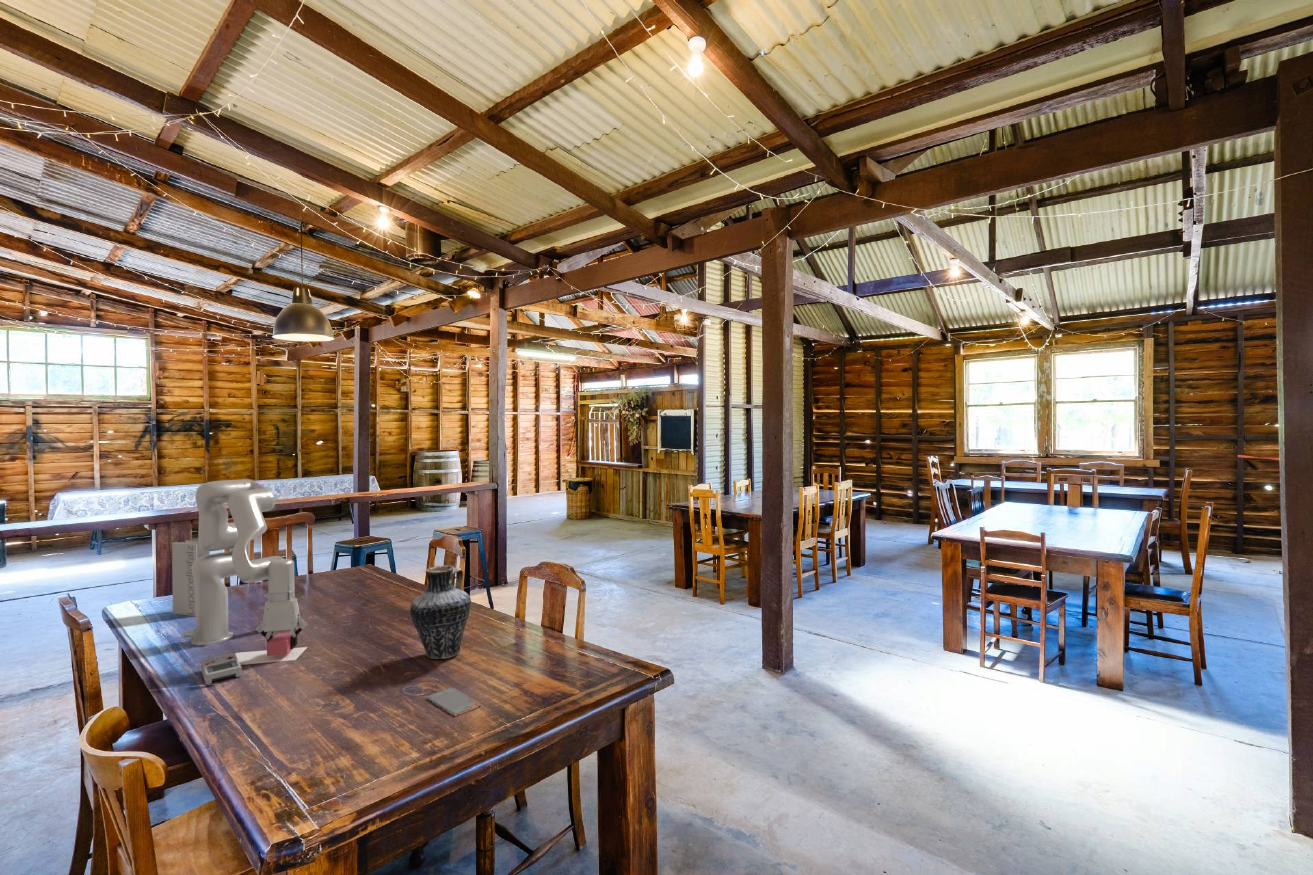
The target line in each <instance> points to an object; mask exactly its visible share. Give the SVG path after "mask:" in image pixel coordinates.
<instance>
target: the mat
mask: <svg viewBox="0 0 1313 875" xmlns="http://www.w3.org/2000/svg"><path fill="white" fill-rule="evenodd" d="M307 648H308V646H305V647H294V648H293V649H292V650H291V651H290V652H289V653H288V654H284V655H273V656H267V649H266V650H256V651H243V652H241V651H240V652H236V653H235V655H236V657H237V659H238V661H239V663H240V665H241V666H242V665H253V664H255V665H256V664H265V663H276V662H287V661H296V660H297V659H298V658H299V657H301V655H302V654H303V653H304V652H305V650H307Z"/></svg>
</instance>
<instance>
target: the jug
mask: <svg viewBox="0 0 1313 875" xmlns="http://www.w3.org/2000/svg"><path fill="white" fill-rule="evenodd" d="M425 574H426V578H427V582H428V584H427V589H426V590H425V591H424V592H423V593H422V594H420V595H418V596H417V597H415V599H413V601H412V603H411V604H410V608H409V610H410V611H409V613H410V617H411V621H412V623H413V625H414V628H415V630H416V632H417V634H418V637H419V639H420V642H421V644H422V647H423V649H424V651H425V654H426V657H428V658H429V659H433V660H441V659H443V660H444V659H449V658H452V657H455V656H457V655H459V653H460V652H461V644H462V640H463V636H464V632H465V628H466V624H467V621H468V619H469V617H470V616H469V615H470V611H471V606H472V599H471V596H470V595H469V594H468V593H467V592H466V591H464V590H462V586H463V579H464V570H462V568H459V567H454V566H452V565H445V564H444V565H437V566H433V567H427V568H426V570H425ZM454 575H455V576H456V578H455V582H454V584H455V586H454V584H453V579H452V578H453V576H454Z"/></svg>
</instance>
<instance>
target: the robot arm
mask: <svg viewBox="0 0 1313 875" xmlns="http://www.w3.org/2000/svg"><path fill="white" fill-rule="evenodd" d="M194 496H195V497H194V498H195V504H196V507H197V510H198V535H197V536H198V537H197V539H198V543H199V547H200V549H201V550H203V551H210V552H214V551H215V552H216V553H210V555H205V556H202V557H200V558H198V559H196V560H195V561H194V562H193V564H192V574H193V578H194V583H195V594H196V616H195V629H192V630H191V629H188V630H184V631H183V637H184V638H192V639H190V644H191V646H195V645H196V647H197V646H198V647H200V646H202V647H203V646H209V645H214V644H219V643H222V642H227V641H229V640H231V639H233V637H234V632H233V631H229V590H228V588H227V586H226V585H225V584H224V583H223V582H222V580H223V579H226V578H230V577H235V576H237V578H238V579H239V580H240V581H241V582H242V583H244V584H253V583H259V582H262V581H266V580H267V587H268V590H267V593H264V594H263V598H266V599H267V600H266V601H265V604H264V607H263V608H264V609H263V616H262V622H261V623H260V624H259V625H258V626H257V627H256V628H255V631H256V632H258V633H259V634H260V635H261V636H262V637H264V639H265V640H266V643H267V642H268V641H269V640H270V639H272V638H273V637H274V636H275V635H274V633H276V632H275V631H280V632H283V631H284V632H287V631H289V633H291V635H292V637H291V638H290V643H291V649H293V648H296V646H298V635H299V634H300V633H301V632H302V631H303V630H304V629H305V628H306V627H307V626H308V625H309V623H308V622H306V620H304V619H303V618H301V616H300V615H301V614H300V607H299V603H298V598H297V597H296V596H295V562H294V560H293V559H291V558H283V557H281V556H279V555H272V556H267V557H262V558H255V559H252V560H250V556H251V555H250V554H251V552H250V551H251V541H253V540H254V539H256V538H258V537H260V536H261V535H263V534H264V533H266V532H267V530H268V525H267V523H266V521H265V517H264V515H263V512H269V511H272V510H273V509H274V508H275V506H276V497H275V495H274V494H273V492H272V491H271V490H270V489H269V488H268V487H266V486H264V485H262V484H260V483H259V482H258V481H255V480H254V479H251V478H250V479H248V478H244V479H243V478H242V479H226V480H224V479H223V480H216V481H214V480H213V481H209V482H205V483H203V484H200V485H199V486H198V487H197V489H196V492H195V495H194ZM226 504H227V507H228V509H227V508H226V507H225V506H224V505H226ZM228 510H229V512H230V515H231V518H232V521H233V522H229V513H228ZM227 549H229V550H228V551H223V550H227ZM217 551H223V552H218V553H217ZM299 625H300V626H299ZM298 626H299V628H297V627H298Z"/></svg>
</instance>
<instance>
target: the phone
mask: <svg viewBox="0 0 1313 875" xmlns="http://www.w3.org/2000/svg"><path fill="white" fill-rule="evenodd" d="M468 697H470V696H469V695H467V694H466V693H464V692H462V691H460V690H458V689H457V688H455V687H449V688H447V689H444V690H441V691H438V692H435V693H432V694H430V695H428V696H427V700H428V699H429V700H430V701H429V700H428V701H429V702H431V701H433V702H434V703H435V704H437V705H439V706H441V707H442V708H444V709H445V710H448V711H449V712H452V713H453V714H458V713H460V712H463V711H465V710H468V708H472V707H471V706H475V705H474V704H475V703H472V702H469V701H474V700H475V699H474V698H472V697H471V698H468ZM470 699H471V700H470ZM472 699H474V700H472ZM434 703H433V704H434ZM435 704H434V705H435ZM472 704H473V705H472ZM437 705H436V706H437ZM468 706H469V707H468ZM466 707H467V708H466ZM442 708H441V709H442ZM445 710H444V711H445Z"/></svg>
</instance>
